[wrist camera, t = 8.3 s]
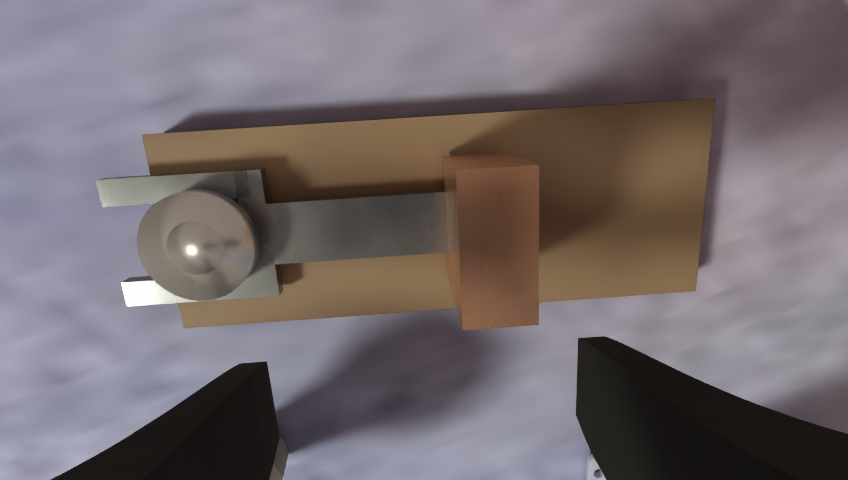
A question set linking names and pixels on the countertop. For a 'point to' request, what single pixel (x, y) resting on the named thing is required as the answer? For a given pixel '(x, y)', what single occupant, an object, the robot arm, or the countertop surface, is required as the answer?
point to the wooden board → (423, 171)
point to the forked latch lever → (382, 231)
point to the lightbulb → (279, 461)
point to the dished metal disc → (198, 244)
